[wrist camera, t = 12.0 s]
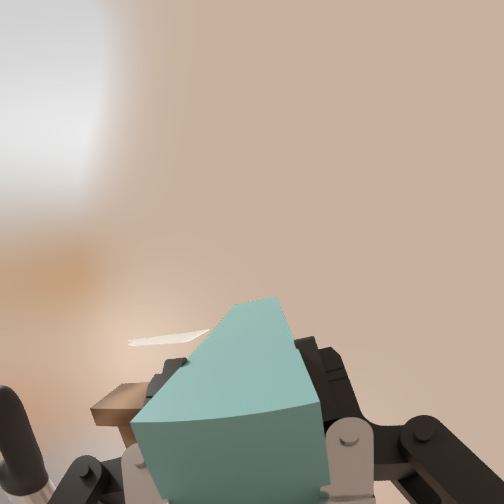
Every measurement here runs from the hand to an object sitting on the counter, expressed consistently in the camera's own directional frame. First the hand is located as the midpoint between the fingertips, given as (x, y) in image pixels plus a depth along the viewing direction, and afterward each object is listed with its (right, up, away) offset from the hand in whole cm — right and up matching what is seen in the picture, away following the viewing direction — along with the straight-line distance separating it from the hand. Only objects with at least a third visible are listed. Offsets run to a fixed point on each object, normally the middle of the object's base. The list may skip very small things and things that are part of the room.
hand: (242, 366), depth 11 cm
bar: (+1, -4, +6) cm, 7 cm away
